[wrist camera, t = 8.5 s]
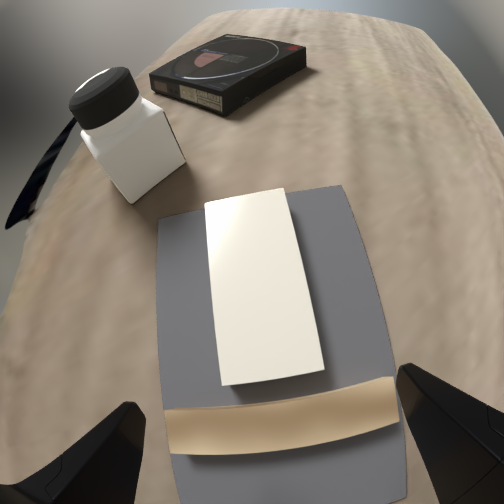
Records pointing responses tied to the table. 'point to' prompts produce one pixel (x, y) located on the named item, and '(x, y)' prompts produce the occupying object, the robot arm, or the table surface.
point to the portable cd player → (228, 71)
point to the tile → (259, 290)
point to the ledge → (283, 421)
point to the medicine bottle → (125, 132)
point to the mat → (331, 378)
